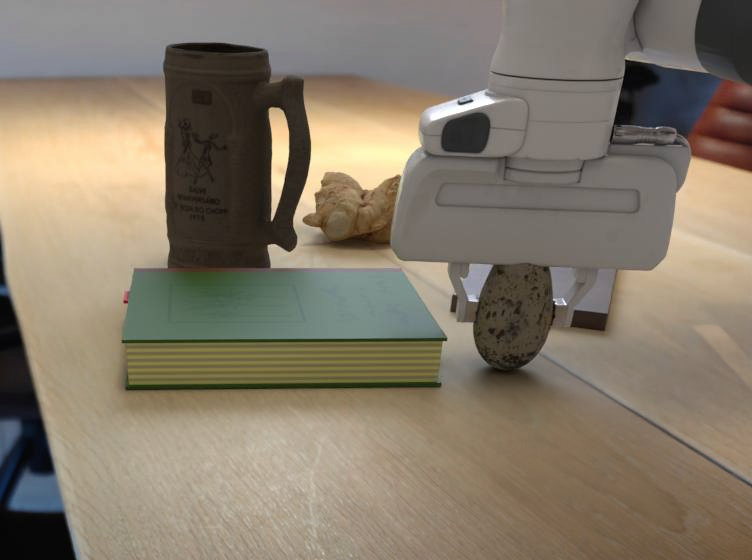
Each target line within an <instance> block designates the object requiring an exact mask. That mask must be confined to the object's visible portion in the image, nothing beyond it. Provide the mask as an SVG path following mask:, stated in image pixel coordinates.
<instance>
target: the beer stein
mask: <svg viewBox="0 0 752 560" xmlns="http://www.w3.org/2000/svg"><path fill="white" fill-rule="evenodd" d="M164 50H165V51H164V59H163V63H162V71H163V76H164V90H165V91H164V92H165V122H164V129H163V130H164V133H163V134H164V136H163V137H164V139H163V144H164V145H163V146H164V147H163V148H164V149H163V150H164V151H163V152H164V155H163V156H164V164H165V165H164V171H165V172H164V173H165V176H164V178H165V180H164V182H165V194H164V209H165V210H164V211H165V214H166V216H165V217H166V221H165V222H166V237H167V240H168V244H169V245H168V246H169V251H168V255H167V263H166V264H167V268H272V263H271V258H270V252H269V246H271V245H276V246H277V247H279V248H281V249H283V250H284V251H285V252H287V253H291V252H293V251H294V250H295V249H296V247H297V246H298V234H297V232H296V230H295V226H294V218H295V215H296V212H297V209H298V208H297V207H298V206H299V202H300V200H301V197H302V195H303V193H304V189H305V187H306V185H307V180H308V176H309V171H310V166H311V159H312V139H311V131H310V130H311V129H310V125H309V119H308V114H307V110H306V106H305V97H304V95H305V94H304V88H305V87H304V85H305V84H304V83H305V79H304V78H302V76H298V75H292V74H287V75H286V76H285V77H283V79H281V80H279V81H274V82H271V77H272V67H271V63H270V55H269V50H267V49H266V48H264V47H263V48H262V47H257V46H251V45H244V44H235V43H227V42H211V41H210V42H203V41H202V42H196V41H195V42H193V41H192V42H178V43H171V44H167V45H166V46H165V49H164ZM271 108H273V109H274V108H275V109H280V110H281V111H282V112H283V114H284V117H285V119H286V124H287V129H288V158H287V165H286V170H285V175H284V180H283V186H282V190H281V194H280V198H279V201H278V203H277V207H276V210H275V213H274V215H273V218H272V211H273V207H272V204H273V203H272V201H273V196H272V195H273V193H272V189H273V188H272V172H273V171H272V167H273V166H272V164H273V163H272V161H273V134H272V133H273V132H272V126H271V125H272V124H271V121H270V119H271V118H270V109H271Z"/></svg>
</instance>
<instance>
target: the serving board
mask: <svg viewBox="0 0 752 560" xmlns="http://www.w3.org/2000/svg"><path fill="white" fill-rule="evenodd" d="M492 267H493V265H491V264H471V265H470V267H469V273H468V277H467V278H462V279H461V281H462V283H463V286H464V288H465V291H466V293H467V294H472V295H477V297H478V299H479V296H480V293H481V290H482V288H483V285H484V283H485V281H486V278H487V276H488V274H489V272H490V270H491V268H492ZM549 268H550V273H551V280H552V289H553V298H563V296H564V295H565V294H566V292H567V291H568V290H569V289H570V287H571V286H572V285H573V283H574V282H575V281H576V279H575V277H574V276H573V274H572V271H573V268H564V267H549ZM616 274H617V270H613V269H598V273H597V278H596V282H595V285H594V286H593V287H592V288H591V289H590V290H589V292H588V293H587V294H586V295H585V296H584V298H583V299H582V300H581V301H580V302H579V303H578V305H575V308H574V313H573V317H572V322H571V325H570V327H576V328H583V329H590V330H591V329H592V330H599V331H600V330H601V331H605V328H606V324H607V320H608V316H609V312H610V311H609V310H610V306H611V301H612V295H613V290H614V285H615V280H616ZM457 300H458V297H457V295H456V292H455V291H454V292H453V293H452V295H451V301H450V307H449V309H450V310H449V311H450V312H456V307H457Z"/></svg>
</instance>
